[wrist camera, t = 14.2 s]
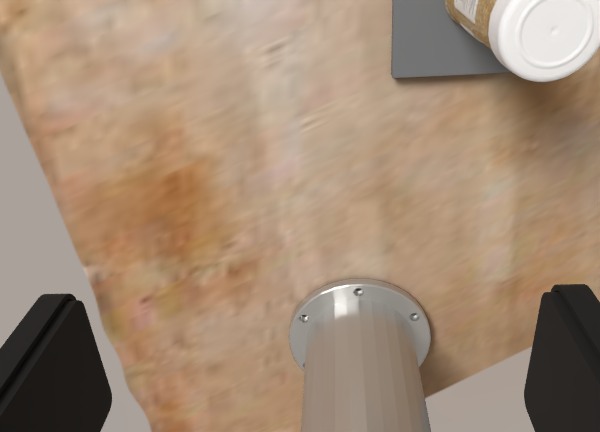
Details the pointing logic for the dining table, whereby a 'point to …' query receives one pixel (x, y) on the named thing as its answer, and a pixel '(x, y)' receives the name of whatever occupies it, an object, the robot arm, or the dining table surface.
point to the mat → (435, 43)
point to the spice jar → (533, 33)
